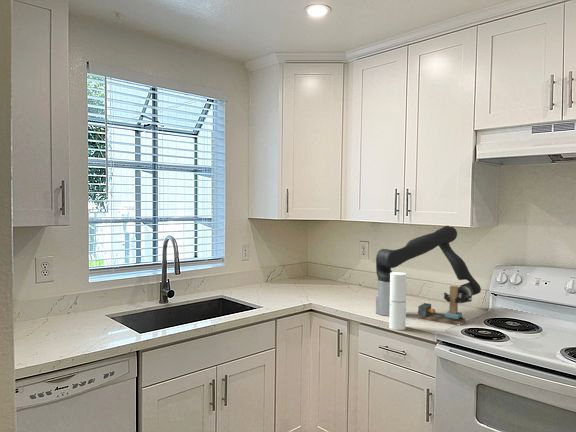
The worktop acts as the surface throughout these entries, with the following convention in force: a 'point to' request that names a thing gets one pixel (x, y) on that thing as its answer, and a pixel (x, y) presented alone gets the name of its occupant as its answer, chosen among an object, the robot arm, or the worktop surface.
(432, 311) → the button
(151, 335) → the worktop surface
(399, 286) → the cylindrical container
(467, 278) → the robot arm
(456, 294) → the post
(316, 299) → the worktop surface
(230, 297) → the worktop surface
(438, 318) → the rail bed
